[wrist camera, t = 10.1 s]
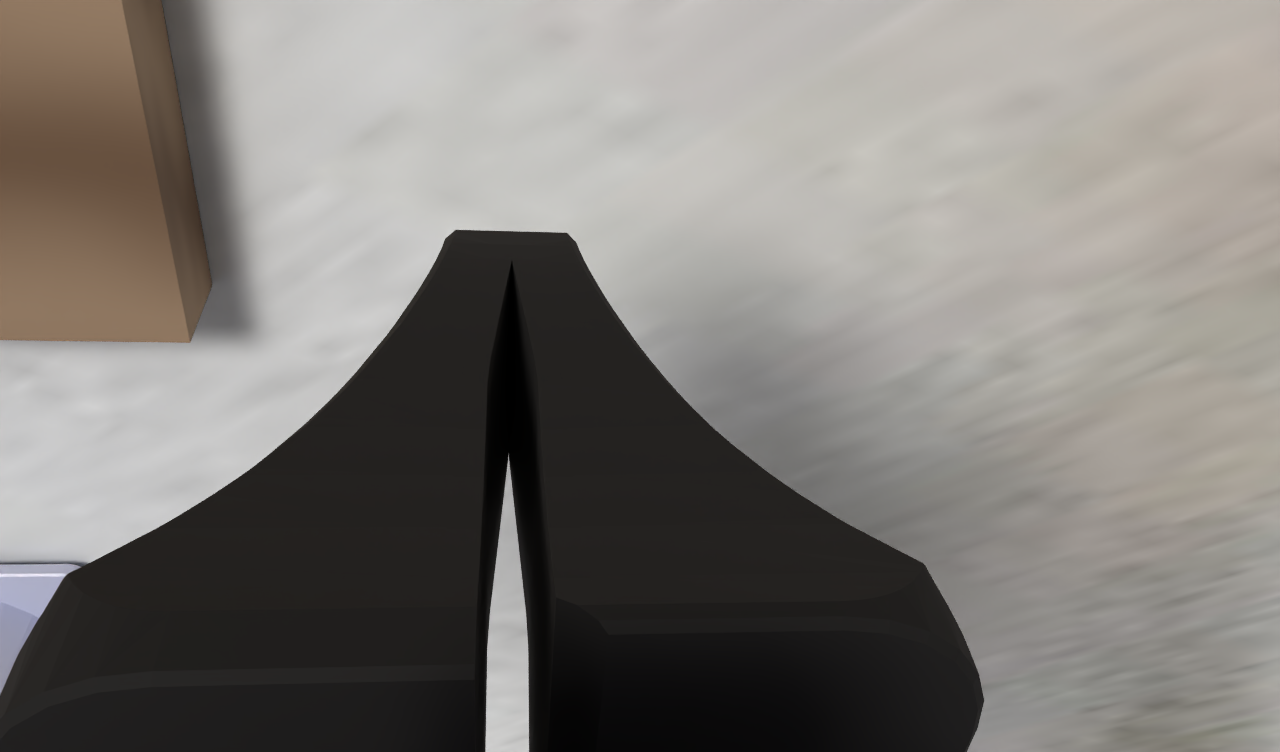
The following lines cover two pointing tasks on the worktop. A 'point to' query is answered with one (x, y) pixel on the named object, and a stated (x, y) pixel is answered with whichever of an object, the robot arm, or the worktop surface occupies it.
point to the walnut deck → (95, 177)
